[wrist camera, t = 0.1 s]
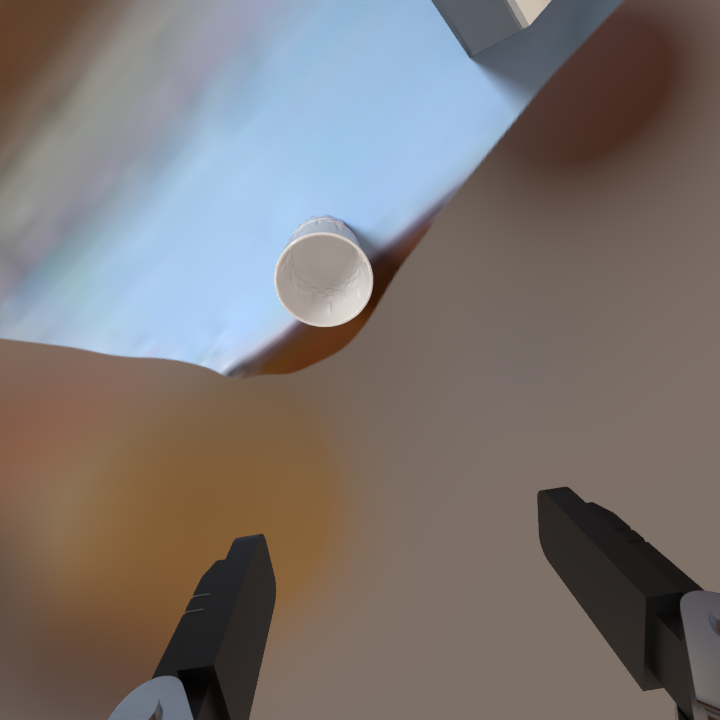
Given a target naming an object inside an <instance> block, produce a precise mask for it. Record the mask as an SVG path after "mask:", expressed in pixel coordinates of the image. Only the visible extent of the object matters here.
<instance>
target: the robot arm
mask: <svg viewBox="0 0 720 720" xmlns="http://www.w3.org/2000/svg"><path fill="white" fill-rule="evenodd" d="M537 499H538V500H537V502H538V523H539V538H540V543H541V546H542V549H543V552H544V554H545V556H546V558H547V560H548V561H549V563H550V564H551V565H552V567H553V568H554V570H555V571H556V572H557V574H558V575H559V576H560V578H561V579H562V581H563V582H564V583H565V585H566V586H567V587H568V589H569V590H570V592H571V593H572V594H573V596H574V597H575V598H576V600H577V601H578V602H579V604H580V605H581V607H582V608H583V609H584V611H585V612H586V613H587V615H588V616H589V618H590V619H591V620H592V622H593V623H594V624H595V626H596V627H597V629H598V630H599V631H600V633H601V634H602V635H603V637H604V638H605V640H606V641H607V642H608V643H609V645H610V646H611V648H612V649H613V651H614V652H615V653H616V655H617V656H618V657H619V659H620V660H621V661H622V663H623V664H624V666H625V667H626V668H627V670H628V671H629V672H630V674H631V675H632V676H633V678H634V679H635V681H636V682H637V683H638V685H639V686H640V687H641V689H642V690H643V691H647V690H653V689H660V688H665V690H666V691H667V692H668V693H669V694H670V696H671V697H672V698H673V700H674V701H675V703H674V715H675V720H720V593H717V592H712V591H705V590H703V589H702V588H701V587H700V586H699V585H698V584H696V583H695V582H694V581H693V580H691V579H690V578H689V577H688V576H687V575H686V574H685V573H683V572H682V571H681V570H680V569H679V568H678V567H676V566H675V565H674V564H673V563H672V562H671V561H669V560H668V559H667V558H666V557H665V556H663V555H662V554H661V553H660V552H659V551H658V550H657V549H655V548H654V547H653V546H652V545H651V544H650V543H648V542H645V540H644V538H643V537H641V536H640V535H639V534H638V533H637V532H635V531H634V530H631V528H630V526H628V525H627V524H626V523H625V522H624V521H623V520H621V519H620V518H619V517H618V516H617V515H616V514H614V513H613V512H611V511H609V510H607V509H605V508H603V507H601V506H599V505H597V504H595V503H593V502H590V503H585V502H584V501H583V500H582V499H581V498H580V497H579V496H578V495H577V494H576V493H574V492H573V491H572V490H571V489H570V488H568V487H560V488H554V489H548V490H541V491H539V492H538V496H537ZM275 598H276V582H275V576H274V572H273V568H272V564H271V560H270V555H269V552H268V547H267V543H266V540H265V537H264V535H263V534H258V535H252V536H245V537H239V538H236V539H235V540H234V542H233V544H232V546H231V548H230V550H229V553H228V555H227V557H226V559H225V560H218V561H216V562H215V563H214V564H213V565H212V567H211V568H210V569H209V570H208V571H207V572H206V573H205V574H204V575H203V577H202V578H201V580H200V582H199V584H198V586H197V588H196V590H195V592H194V594H193V599H191V600H190V602H189V604H188V606H187V608H186V610H185V615H183V616H182V618H181V621H180V622H179V624H178V626H177V628H176V630H175V632H174V634H173V637H172V638H171V640H170V642H169V645H168V647H167V648H166V650H165V652H164V655H163V657H162V659H161V661H160V663H159V665H158V667H157V669H156V671H155V673H154V675H153V677H152V679H151V680H150V681H148V682H146V683H144V684H142V685H141V686H139V687H138V688H136V689H135V690H134V691H133V692H131V693H130V694H129V695H128V696H127V697H126V698H125V699H124V700H123V701H122V702H121V703H120V704H119V705H118V706H117V708H116V709H115V710H114V712H113V713H112V714H111V716H110V718H109V719H108V720H249V716H250V712H251V707H252V703H253V699H254V694H255V690H256V685H257V681H258V676H259V671H260V668H261V663H262V658H263V654H264V649H265V645H266V641H267V636H268V632H269V627H270V623H271V619H272V614H273V610H274V605H275Z"/></svg>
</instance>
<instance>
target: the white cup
mask: <svg viewBox="0 0 720 720" xmlns="http://www.w3.org/2000/svg"><path fill="white" fill-rule="evenodd" d="M274 282H275V289H276V292H277V295H278V298H279V300H280V301H281V303H282V305H283V306H284V307H285V309H286V310H287V311H288V312H289V313H290V314H291V315H292V316H294V317H295V318H297V319H298V320H300V321H302V322H304V323H306V324H309V325H313V326H318V327H331V326H337V325H341V324H343V323H346V322H348V321H350V320H351V319H353V318H354V317H356V316H357V315H358V314H359V313H360V312H361V311H362V310H363V309H364V307H365V306H366V304H367V303H368V301H369V299H370V296H371V293H372V289H373V272H372V268H371V265H370V262H369V260H368V258H367V256H366V254H365V253H364V251H363V249H362V247H361V245H360V243H359V241H358V240H357V238H356V237H355V235H354V234H353V232H352V231H351V230H350V229H349V228H348V227H347V226H346V225H345V223H344V222H343V221H342V220H339V219H337V218H334V217H331V216H329V215H322V216H312V217H310V218H309V219H307V220H306V221H304V222H303V223H301V224H300V225H299V226H298V228H297V230H296V231H295V232H294V233H293V234H292V236H291V237H290V239H289V241H288V243H287V245H286V246H285V248H284V250H283V252H282V254H281V256H280V257H279V259H278V262H277V265H276V268H275V275H274Z"/></svg>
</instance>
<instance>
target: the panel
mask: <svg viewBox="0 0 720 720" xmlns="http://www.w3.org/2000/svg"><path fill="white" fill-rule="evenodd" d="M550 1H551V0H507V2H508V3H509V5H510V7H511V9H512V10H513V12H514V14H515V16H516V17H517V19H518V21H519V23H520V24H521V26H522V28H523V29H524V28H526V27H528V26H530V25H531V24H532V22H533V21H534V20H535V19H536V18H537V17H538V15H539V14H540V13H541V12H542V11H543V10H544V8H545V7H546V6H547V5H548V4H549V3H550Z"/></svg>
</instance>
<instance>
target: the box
mask: <svg viewBox="0 0 720 720" xmlns="http://www.w3.org/2000/svg"><path fill="white" fill-rule="evenodd" d="M432 2H433V3H434V5H435V6H436V8H437V9H438V11H439V12H440V14H441V15H442V17H443V18H444V20H445V21H446V23H447V24H448V26H449V27H450V29H451V30H452V32H453V33H454V35H455V36H456V38H457V39H458V41H459V42H460V44H461V45H462V47H463V48H464V50H465V51H466V53H467V54H468V56H469V57H472V56H474V55H476V54H478V53H480V52H482V51H483V50H485V49H487V48H489V47H491V46H493V45H495V44H497V43H499V42H501V41H503V40H505V39H507V38H509V37H511V36H512V35H514V34H516V33H518V32H520V31H522V29H523V28H522V26H521V24H520V23H519V21H518V19H517V17H516V16H515V14H514V12H513V10H512V9H511V7H510V5H509V3H508V2H507V0H432Z"/></svg>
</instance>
